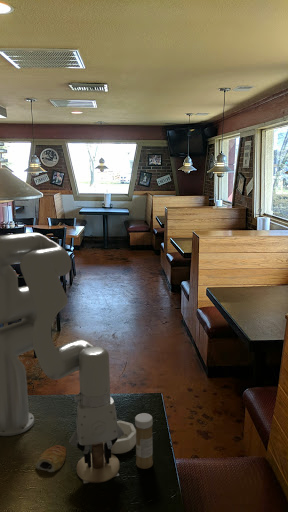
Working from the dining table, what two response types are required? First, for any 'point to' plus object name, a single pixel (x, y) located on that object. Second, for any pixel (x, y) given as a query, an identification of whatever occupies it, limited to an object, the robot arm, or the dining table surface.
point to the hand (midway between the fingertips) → (97, 461)
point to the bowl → (124, 438)
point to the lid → (98, 466)
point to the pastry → (52, 459)
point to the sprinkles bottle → (144, 440)
